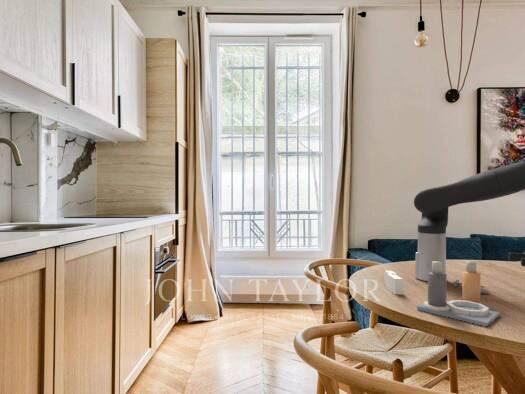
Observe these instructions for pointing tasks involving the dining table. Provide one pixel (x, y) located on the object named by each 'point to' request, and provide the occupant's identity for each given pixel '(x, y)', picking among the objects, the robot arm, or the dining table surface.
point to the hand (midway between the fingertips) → (514, 259)
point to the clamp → (456, 283)
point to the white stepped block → (393, 282)
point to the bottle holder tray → (453, 301)
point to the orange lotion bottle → (471, 283)
